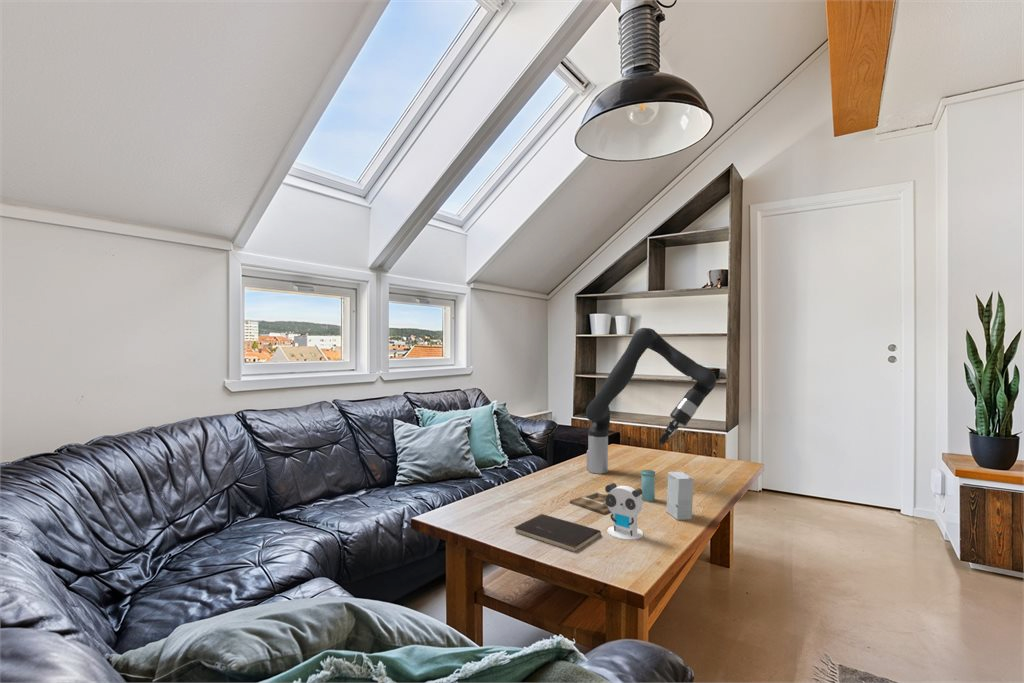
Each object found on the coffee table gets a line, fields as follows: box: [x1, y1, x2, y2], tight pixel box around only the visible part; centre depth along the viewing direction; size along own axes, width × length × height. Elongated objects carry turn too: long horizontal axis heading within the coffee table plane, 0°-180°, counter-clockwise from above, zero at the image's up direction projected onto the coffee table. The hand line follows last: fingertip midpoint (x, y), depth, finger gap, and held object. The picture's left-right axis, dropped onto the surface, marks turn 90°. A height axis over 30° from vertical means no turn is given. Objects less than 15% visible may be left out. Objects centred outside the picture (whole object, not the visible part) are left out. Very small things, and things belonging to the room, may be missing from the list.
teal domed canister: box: [640, 469, 656, 503], centre depth 187 cm, size 5×5×11 cm
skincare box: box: [666, 471, 694, 521], centre depth 170 cm, size 8×6×15 cm
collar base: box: [569, 491, 611, 515], centre depth 182 cm, size 16×16×2 cm
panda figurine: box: [604, 482, 644, 541], centre depth 155 cm, size 12×11×15 cm
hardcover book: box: [514, 513, 602, 552], centre depth 154 cm, size 16×23×2 cm
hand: (661, 443), depth 197 cm, fingers open, 8 cm apart
